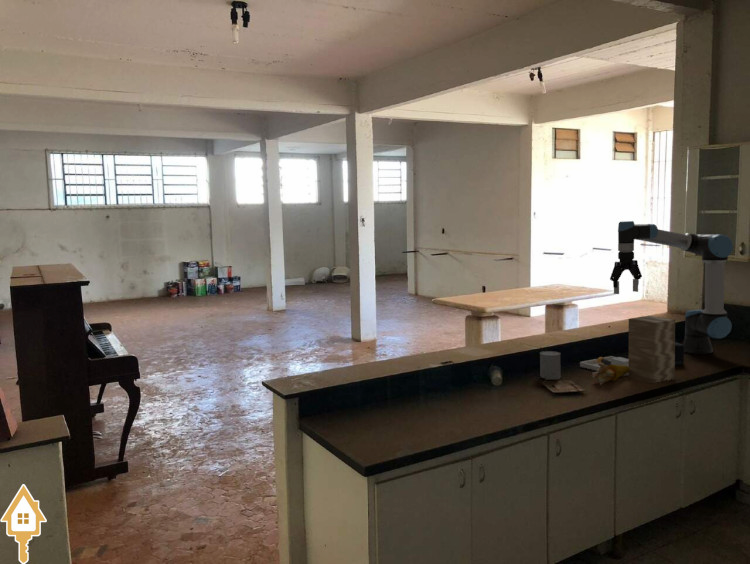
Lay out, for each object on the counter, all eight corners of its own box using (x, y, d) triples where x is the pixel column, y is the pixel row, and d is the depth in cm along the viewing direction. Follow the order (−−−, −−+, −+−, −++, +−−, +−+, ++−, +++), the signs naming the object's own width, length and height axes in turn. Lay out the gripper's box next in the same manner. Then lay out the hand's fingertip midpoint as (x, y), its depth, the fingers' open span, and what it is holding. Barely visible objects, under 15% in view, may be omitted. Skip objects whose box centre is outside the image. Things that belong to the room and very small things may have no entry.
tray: (611, 360, 318) (611, 356, 318) (651, 370, 296) (651, 365, 296) (580, 366, 309) (580, 362, 308) (619, 377, 286) (619, 372, 286)
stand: (649, 372, 292) (649, 315, 290) (674, 378, 280) (675, 319, 277) (628, 376, 286) (628, 318, 283) (653, 383, 274) (654, 322, 271)
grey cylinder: (560, 381, 284) (560, 355, 283) (539, 380, 287) (539, 355, 286) (561, 376, 293) (560, 351, 292) (540, 375, 296) (540, 350, 295)
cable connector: (604, 363, 312) (604, 352, 312) (632, 371, 296) (632, 360, 296) (595, 364, 310) (595, 354, 309) (623, 372, 294) (624, 362, 293)
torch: (629, 383, 287) (598, 386, 272) (616, 372, 293) (585, 375, 278) (637, 369, 284) (607, 372, 269) (624, 359, 289) (593, 361, 275)
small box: (684, 365, 303) (685, 344, 302) (671, 365, 303) (671, 345, 302) (674, 360, 314) (674, 340, 313) (662, 361, 314) (662, 341, 313)
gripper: (614, 253, 299) (614, 295, 301) (649, 250, 309) (649, 291, 312) (602, 252, 305) (602, 294, 307) (637, 249, 316) (637, 289, 318)
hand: (626, 292), depth 310 cm, fingers open, 13 cm apart
